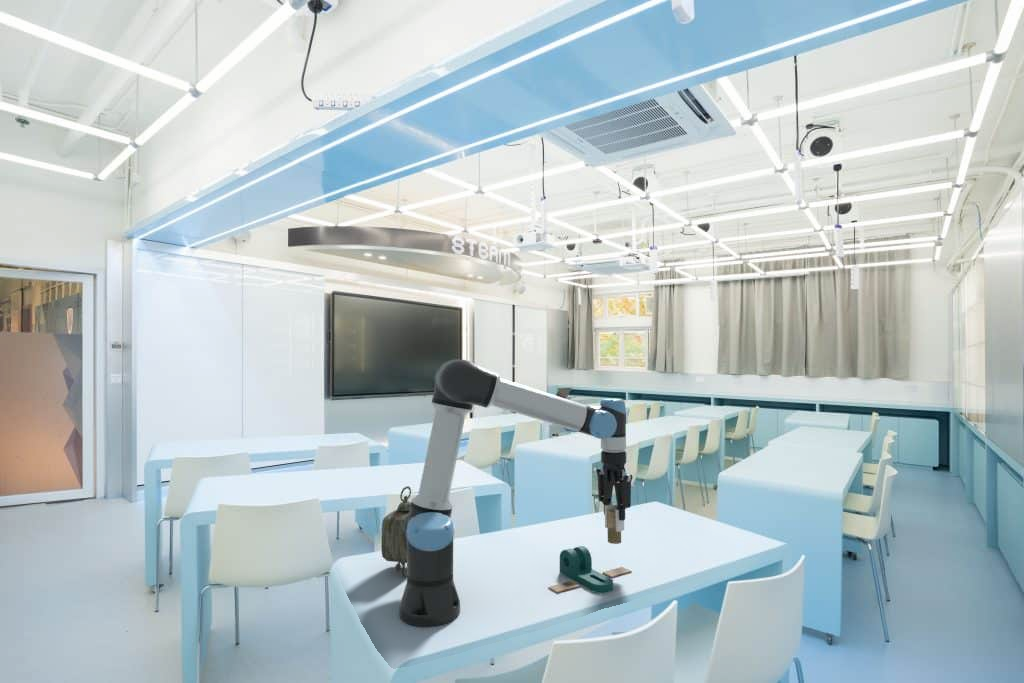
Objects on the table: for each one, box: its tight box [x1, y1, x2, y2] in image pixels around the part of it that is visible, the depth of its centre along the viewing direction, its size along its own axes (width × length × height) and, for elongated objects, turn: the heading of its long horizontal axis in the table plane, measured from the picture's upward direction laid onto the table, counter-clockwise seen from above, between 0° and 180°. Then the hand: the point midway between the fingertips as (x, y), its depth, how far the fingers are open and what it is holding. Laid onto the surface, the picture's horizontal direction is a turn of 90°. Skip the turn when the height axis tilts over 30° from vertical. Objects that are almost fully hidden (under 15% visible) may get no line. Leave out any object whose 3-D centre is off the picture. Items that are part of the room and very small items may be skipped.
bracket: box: [559, 545, 614, 594], centre depth 156 cm, size 18×7×8 cm, turn 32°
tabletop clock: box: [380, 485, 412, 578], centre depth 165 cm, size 14×9×25 cm, turn 166°
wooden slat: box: [548, 566, 633, 594], centre depth 156 cm, size 28×4×1 cm, turn 122°
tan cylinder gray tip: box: [607, 503, 622, 545], centre depth 162 cm, size 4×4×11 cm
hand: (614, 528), depth 162 cm, fingers closed on tan cylinder gray tip, 4 cm apart
